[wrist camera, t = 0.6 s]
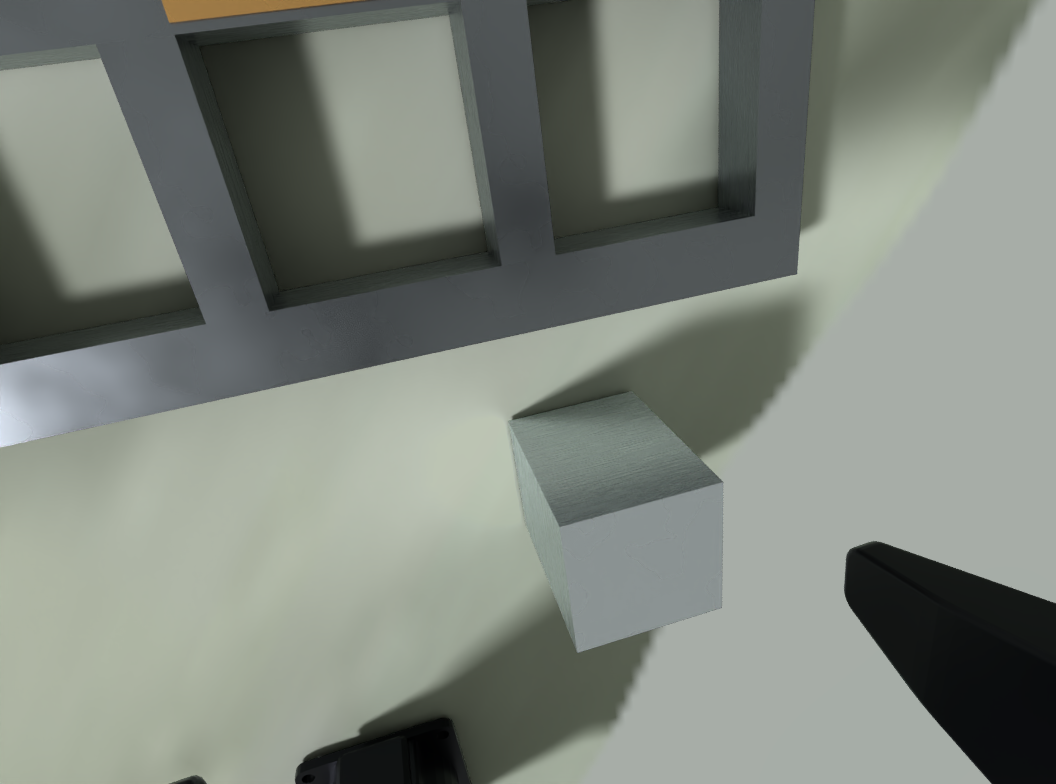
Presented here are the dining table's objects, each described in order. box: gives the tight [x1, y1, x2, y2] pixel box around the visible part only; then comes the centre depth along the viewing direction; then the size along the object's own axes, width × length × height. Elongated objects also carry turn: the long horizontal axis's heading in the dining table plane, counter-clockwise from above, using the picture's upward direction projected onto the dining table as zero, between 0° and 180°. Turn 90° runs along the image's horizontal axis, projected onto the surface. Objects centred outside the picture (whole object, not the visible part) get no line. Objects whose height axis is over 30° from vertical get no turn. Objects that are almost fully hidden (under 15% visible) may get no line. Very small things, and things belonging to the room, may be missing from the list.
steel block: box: [508, 391, 723, 653], centre depth 19 cm, size 4×4×6 cm
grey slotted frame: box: [0, 0, 815, 447], centre depth 15 cm, size 10×24×2 cm, turn 98°
